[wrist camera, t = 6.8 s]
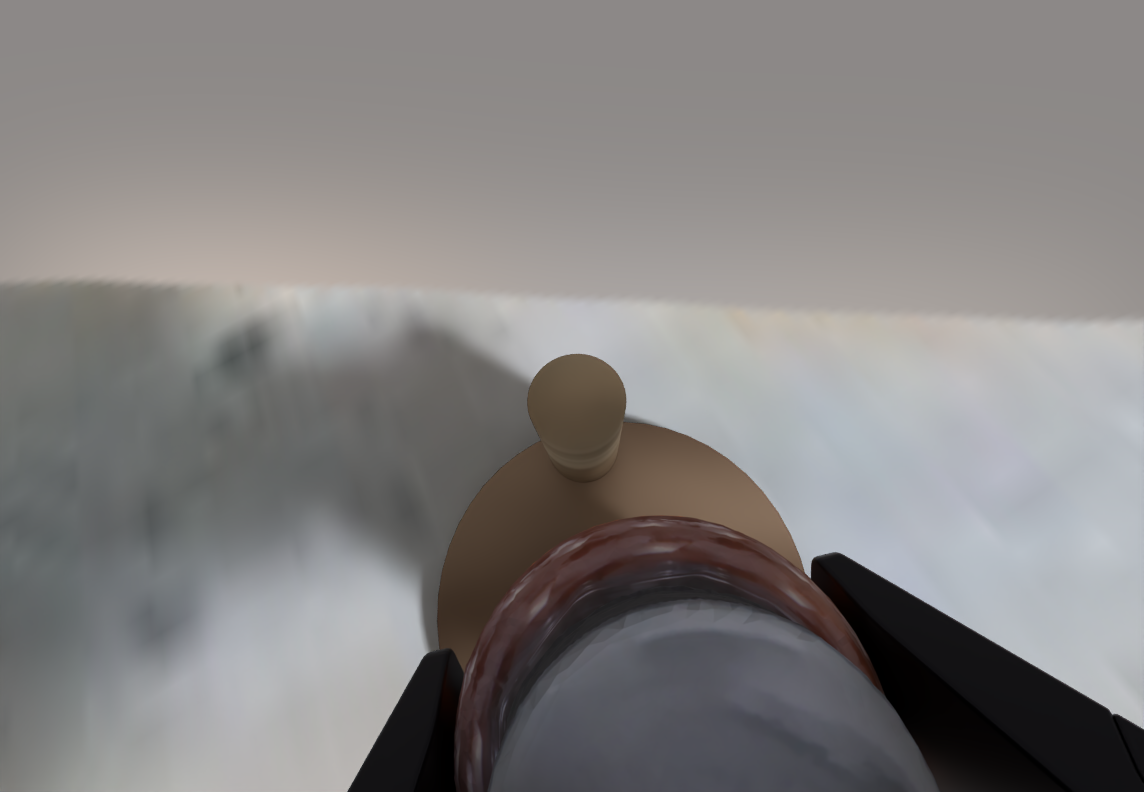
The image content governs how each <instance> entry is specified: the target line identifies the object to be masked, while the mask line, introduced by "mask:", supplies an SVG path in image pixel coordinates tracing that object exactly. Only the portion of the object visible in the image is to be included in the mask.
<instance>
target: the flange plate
mask: <svg viewBox="0 0 1144 792" xmlns="http://www.w3.org/2000/svg"><path fill="white" fill-rule="evenodd" d="M527 406H528V412H529V416H530V419H531V421H532V423H533V425H534V427H535V429H536V431H537V433H538V435H539V437H540V439H541V441H539V442H537V443H535V444H534V445H532V446H530V447H529V448H527V449H526V450H524V451H522V452H521V453H519V454H518V455H516V456H515V457H514V458H513V459H511V460H510V461H509V462H508V463H506V464H505V465H504V466H503V467H501V468H500V469H499V470H498V471H497V472H496V473H495V474H494V475H493V477H492V478H491V479H490V480H489V481H488V482H487V483H486V484H485V485H484V486H483V487H482V489H481V490H480V491H479V493H478V494H477V495H476V497H475V498H474V499H473V501H472V502H471V504H470V505H469V507H468V509H467V510H466V512H465V514H464V516H463V517H462V519H461V521H460V523H459V524H458V527H457V529H456V531H455V534H454V536H453V539H452V541H451V543H450V546H449V549H448V552H447V556H446V559H445V563H444V566H443V570H442V575H441V581H440V588H439V594H438V614H437V625H438V637H439V648H440V650H441V649H445V648H451V649H452V650H453V651H454V653H455V655H456V657H457V659H458V661H459V663H460V665H461V667H462V669H463V672H465V667H466V664H467V663H468V661H469V659H470V656H471V654H472V652H473V650H474V648H475V645H476V643H477V640H478V638H479V636H480V634H481V632H482V630H483V628H484V626H485V625H486V623H487V622H488V620H489V619H490V617H491V615H492V613H493V611H494V609H495V607H496V606H497V604H498V603H499V602H500V601H501V599H502V598H503V597H504V595H505V594H506V593H507V591H508V590H509V589H510V587H511V586H512V585H513V583H514V582H515V581H516V580H517V579H518V578H519V577H520V576H521V575H522V574H523V573H524V572H525V571H526V570H527V569H528V568H529V567H530V566H531V565H532V564H534V563H535V562H536V561H537V560H538V559H539V558H541V557H542V556H543V555H544V554H545V553H547V552H548V551H549V550H551V549H552V548H554V547H555V546H556V545H558V544H559V543H560V542H562V541H564V540H566V539H568V538H570V537H572V536H574V535H576V534H578V533H580V532H583V531H585V530H587V529H590V528H592V527H594V526H598V525H601V524H605V523H608V522H612V521H615V520H620V519H626V518H633V517H640V516H656V515H664V516H683V517H692V518H697V519H700V520H704V521H708V522H713V523H717V524H721V525H724V526H726V527H728V528H731V529H733V530H735V531H739V532H741V533H743V534H745V535H747V536H749V537H751V538H754V539H756V540H758V541H759V542H761V543H763V544H765V545H767V546H768V547H770V548H772V549H773V550H775V551H776V552H777V553H779V554H780V555H782V556H783V557H784V558H786V559H787V560H788V561H790V562H791V563H792V564H793V565H795V566H796V567H797V568H799V569H800V570H801V571H802V572H804V569H803V565H802V561H801V558H800V556H799V553H798V551H797V548H796V546H795V544H794V541H793V539H792V536H791V534H790V532H789V531H788V529H787V527H786V525H785V524H784V522H783V520H782V518H781V516H780V515H779V513H778V511H777V510H776V509H775V507H774V506H773V505H772V503H771V502H770V501H769V499H768V498H767V496H766V495H765V494H764V492H763V491H762V490H761V489H760V488H759V487H758V486H757V485H756V484H755V483H754V482H753V481H752V479H751V478H750V477H749V476H748V475H747V474H746V473H744V472H743V471H742V470H741V469H740V468H739V467H737V466H736V465H735V464H734V463H733V462H731V461H730V460H729V459H728V458H726V457H725V456H723V455H722V454H720V453H718V452H717V451H715V450H714V449H712V448H711V447H709V446H707V445H705V444H703V443H701V442H699V441H697V440H695V439H693V438H691V437H689V436H687V435H684V434H681V433H678V432H675V431H672V430H669V429H666V428H662V427H657V426H652V425H648V424H641V423H628V422H623V420H624V415H625V409H626V393H625V388H624V385H623V383H622V381H621V379H620V377H619V375H618V374H617V373H616V371H615V370H614V369H613V368H612V367H611V366H610V365H608V364H607V363H606V362H604V361H602V360H600V359H598V358H596V357H593V356H590V355H585V354H570V355H565V356H562V357H559V358H556V359H554V360H552V361H551V362H549V363H548V364H546V365H545V366H544V367H543V368H542V369H541V370H540V371H539V372H538V373H537V375H536V376H535V377H534V379H533V381H532V383H531V386H530V388H529V392H528V399H527ZM804 573H805V572H804Z"/></svg>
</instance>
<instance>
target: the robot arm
mask: <svg viewBox="0 0 1144 792" xmlns="http://www.w3.org/2000/svg"><path fill="white" fill-rule="evenodd" d="M811 580H812V581H813V582H814V583H815V584H816V585H817V586H818V587H819V588H820V589H821V590H822V591H823V592H824V593H825V594H826V595H827V596H828V597H829V598H830V600H831V601H832V602H833V603H834V605H835V606H836V607H837V608H838V610H839V611H840V612H841V614H842V615H843V616H844V618H845V619H846V620H847V622H848V623H849V624H850V626H851V627H852V629H853V630H854V632H855V633H856V635H857V637H858V639H859V640H860V642H861V644H862V646H863V647H864V649H865V651H866V652H867V654H868V656H869V658H870V660H871V663H872V665H873V667H874V669H875V671H876V673H877V676H878V678H879V681H880V683H881V686H882V688H883V691H884V693H885V696H886V698H887V700H888V701H889V702H890V704H891V705H892V706H893V708H894V709H895V710H896V712H897V714H898V715H899V717H900V718H901V720H902V722H903V723H904V725H905V727H906V728H907V730H908V731H909V733H910V735H911V736H912V738H913V739H914V741H915V743H916V744H917V746H918V747H919V749H920V751H921V753H922V755H923V757H924V759H925V761H926V763H927V765H928V767H929V768H930V770H931V772H932V774H933V776H934V778H935V780H936V783H937V785H938V788H939V790H940V792H1144V729H1142V728H1141V727H1139V726H1137V725H1135V724H1134V723H1132V722H1130V721H1129V720H1127V719H1125V718H1123V717H1122V716H1120V715H1118V714H1113V715H1112V714H1111V712H1110V710H1109V709H1107V708H1106V707H1104V706H1102V705H1101V704H1099V703H1097V702H1096V701H1094V700H1092V699H1090V698H1089V697H1087V696H1085V695H1084V694H1082V693H1080V692H1078V691H1077V690H1075V689H1073V688H1071V687H1070V686H1068V685H1066V684H1065V683H1063V682H1061V681H1059V680H1058V679H1056V678H1054V677H1053V676H1051V675H1049V674H1047V673H1046V672H1044V671H1042V670H1041V669H1039V668H1037V667H1035V666H1034V665H1032V664H1030V663H1029V662H1027V661H1025V660H1023V659H1022V658H1020V657H1018V656H1017V655H1015V654H1013V653H1011V652H1010V651H1008V650H1006V649H1004V648H1003V647H1001V646H999V645H998V644H996V643H994V642H992V641H991V640H989V639H987V638H986V637H984V636H982V635H980V634H979V633H977V632H975V631H974V630H972V629H970V628H968V627H967V626H965V625H963V624H962V623H960V622H958V621H956V620H955V619H953V618H951V617H950V616H948V615H946V614H944V613H943V612H941V611H939V610H938V609H936V608H934V607H932V606H931V605H929V604H927V603H925V602H924V601H922V600H920V599H919V598H917V597H915V596H913V595H912V594H910V593H908V592H907V591H905V590H903V589H901V588H900V587H898V586H896V585H895V584H893V583H891V582H889V581H888V580H886V579H884V578H883V577H881V576H879V575H877V574H876V573H874V572H872V571H871V570H869V569H867V568H865V567H864V566H862V565H860V564H858V563H857V562H855V561H853V560H852V559H850V558H848V557H846V556H845V555H843V554H841V553H837V552H833V553H829V554H825V555H821V556H817V557H814V558H813V560H812V563H811ZM463 677H464V672H463V669H462V667H461V665H460V663H459V661H458V659H457V657H456V655H455V653H454V651H453V650H452V649H451V648H445V649H441V650H437V651H433V652H430V653H427V654H426V655H425V656H424V657H423V659H422V660H421V662H420V664H419V666H418V667H417V669H416V671H415V673H414V675H413V676H412V678H411V680H410V682H409V683H408V685H407V687H406V689H405V690H404V692H403V694H402V696H401V698H400V699H399V701H398V703H397V705H396V706H395V708H394V710H393V712H392V714H391V715H390V717H389V719H388V721H387V722H386V724H385V726H384V728H383V729H382V731H381V733H380V735H379V737H378V738H377V740H376V742H375V744H374V745H373V747H372V749H371V751H370V753H369V754H368V756H367V758H366V760H365V761H364V763H363V765H362V767H361V768H360V770H359V772H358V774H357V776H356V777H355V779H354V781H353V783H352V784H351V786H350V788H349V790H348V791H347V792H456V786H455V780H454V775H455V774H454V732H455V725H456V714H457V707H458V702H459V696H460V692H461V687H462V682H463Z"/></svg>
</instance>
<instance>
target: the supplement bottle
mask: <svg viewBox="0 0 1144 792" xmlns="http://www.w3.org/2000/svg"><path fill="white" fill-rule="evenodd" d="M454 774H455V775H454V780H455V786H456V792H940V790H939V788H938V785H937V783H936V780H935V778H934V776H933V774H932V772H931V770H930V768H929V767H928V765H927V763H926V761H925V759H924V757H923V755H922V753H921V751H920V749H919V747H918V746H917V744H916V743H915V741H914V739H913V738H912V736H911V735H910V733H909V731H908V730H907V728H906V727H905V725H904V723H903V722H902V720H901V718H900V717H899V715H898V714H897V712H896V710H895V709H894V708H893V706H892V705H891V704H890V702H889V701H888V700H887V698H886V696H885V693H884V691H883V688H882V686H881V683H880V681H879V678H878V676H877V673H876V671H875V669H874V667H873V665H872V663H871V660H870V658H869V656H868V654H867V652H866V651H865V649H864V647H863V646H862V644H861V642H860V640H859V639H858V637H857V635H856V633H855V632H854V630H853V629H852V627H851V626H850V624H849V623H848V622H847V620H846V619H845V618H844V616H843V615H842V614H841V612H840V611H839V610H838V608H837V607H836V606H835V605H834V603H833V602H832V601H831V600H830V598H829V597H828V596H827V595H826V594H825V593H824V592H823V591H822V590H821V589H820V588H819V587H818V586H817V585H816V584H815V583H814V582H813V581H812V580H811V579H810V578H809V577H808V576H807V575H806V574H805V573H804V572H802V571H801V570H800V569H799V568H797V567H796V566H795V565H793V564H792V563H791V562H790V561H788V560H787V559H786V558H784V557H783V556H782V555H780V554H779V553H777V552H776V551H775V550H773V549H772V548H770V547H768V546H767V545H765V544H763V543H761V542H759V541H758V540H756V539H754V538H751V537H749V536H747V535H745V534H743V533H741V532H739V531H735V530H733V529H731V528H728V527H726V526H724V525H721V524H717V523H713V522H708V521H704V520H700V519H697V518H692V517H683V516H664V515H656V516H640V517H633V518H626V519H620V520H615V521H612V522H608V523H605V524H601V525H598V526H594V527H592V528H590V529H587V530H585V531H583V532H580V533H578V534H576V535H574V536H572V537H570V538H568V539H566V540H564V541H562V542H560V543H559V544H558V545H556V546H555V547H554V548H552V549H551V550H549V551H548V552H547V553H545V554H544V555H543V556H542V557H541V558H539V559H538V560H537V561H536V562H535V563H534V564H532V565H531V566H530V567H529V568H528V569H527V570H526V571H525V572H524V573H523V574H522V575H521V576H520V577H519V578H518V579H517V580H516V581H515V582H514V583H513V585H512V586H511V587H510V589H509V590H508V591H507V593H506V594H505V595H504V597H503V598H502V599H501V601H500V602H499V603H498V604H497V606H496V607H495V609H494V611H493V613H492V615H491V617H490V619H489V620H488V622H487V623H486V625H485V626H484V628H483V630H482V632H481V634H480V636H479V638H478V640H477V643H476V645H475V648H474V650H473V652H472V654H471V656H470V659H469V661H468V663H467V664H466V667H465V672H464V677H463V682H462V687H461V692H460V696H459V702H458V707H457V714H456V725H455V732H454Z"/></svg>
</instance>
